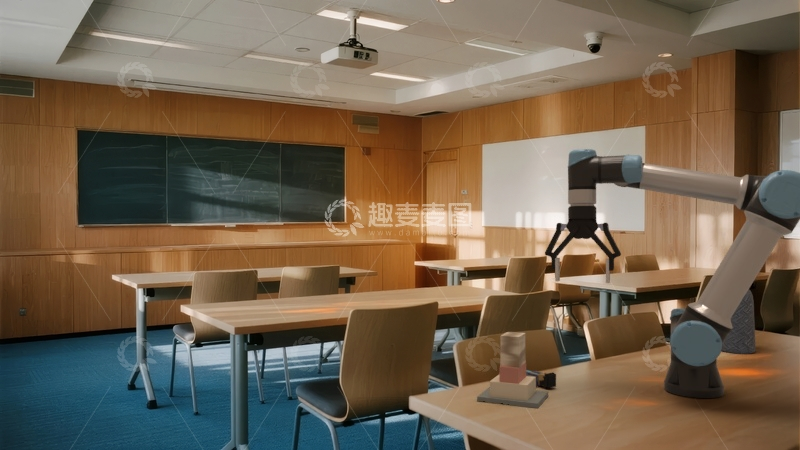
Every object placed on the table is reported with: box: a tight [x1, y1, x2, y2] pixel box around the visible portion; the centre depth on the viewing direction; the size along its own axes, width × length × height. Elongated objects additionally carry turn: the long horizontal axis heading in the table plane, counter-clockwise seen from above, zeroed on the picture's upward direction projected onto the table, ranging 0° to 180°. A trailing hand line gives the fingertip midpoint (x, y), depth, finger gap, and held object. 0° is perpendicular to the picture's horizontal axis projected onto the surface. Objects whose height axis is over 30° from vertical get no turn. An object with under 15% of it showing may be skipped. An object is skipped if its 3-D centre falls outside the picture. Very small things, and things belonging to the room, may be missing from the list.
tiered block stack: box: [476, 361, 549, 409], centre depth 170 cm, size 16×13×9 cm
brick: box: [499, 331, 526, 368], centre depth 170 cm, size 5×7×8 cm
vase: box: [721, 288, 757, 355], centre depth 235 cm, size 12×12×28 cm
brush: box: [526, 369, 557, 388], centre depth 185 cm, size 6×4×15 cm
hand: (582, 282), depth 176 cm, fingers open, 13 cm apart
